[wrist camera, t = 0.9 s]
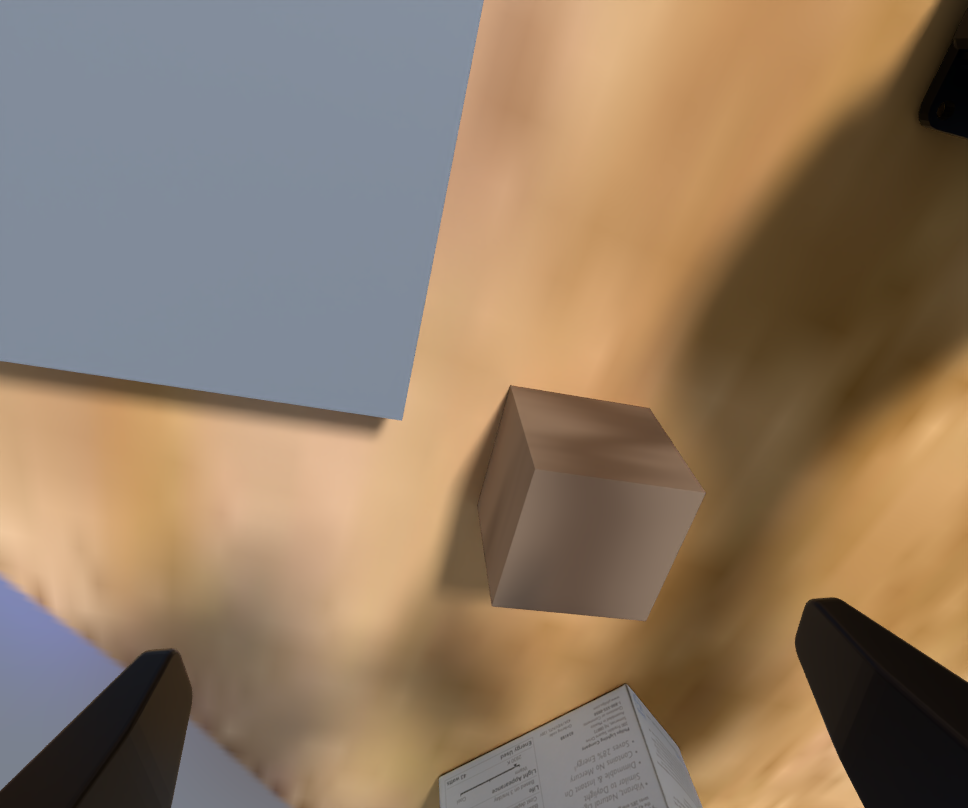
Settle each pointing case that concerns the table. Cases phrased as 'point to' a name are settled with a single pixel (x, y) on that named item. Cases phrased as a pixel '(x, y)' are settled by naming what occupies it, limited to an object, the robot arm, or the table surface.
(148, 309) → the slate block
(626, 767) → the light bulb box
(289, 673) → the table surface
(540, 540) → the walnut cube
